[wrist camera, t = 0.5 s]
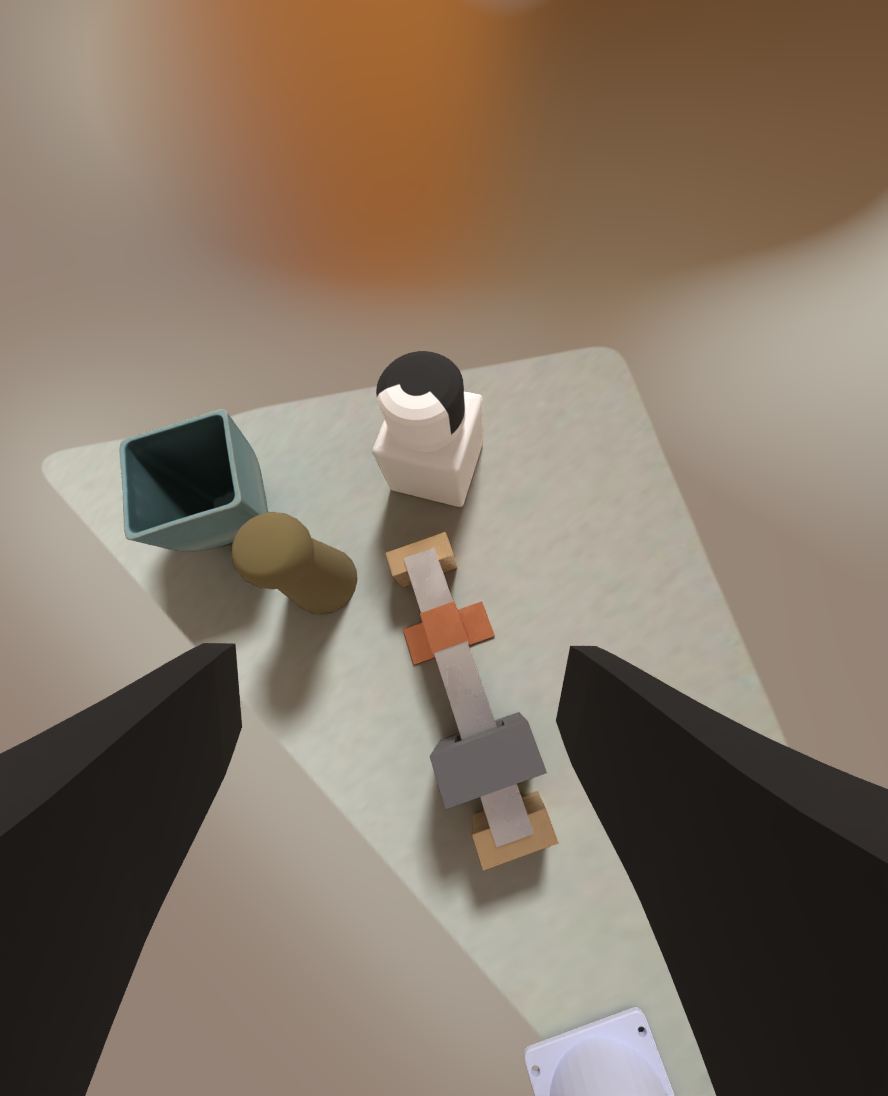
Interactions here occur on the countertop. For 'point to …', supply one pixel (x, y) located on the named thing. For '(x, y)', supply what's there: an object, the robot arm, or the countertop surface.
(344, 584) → the brown pawn figure
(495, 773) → the collar
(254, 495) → the flower pot
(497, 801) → the rail
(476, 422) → the medicine bottle
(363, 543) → the countertop surface
